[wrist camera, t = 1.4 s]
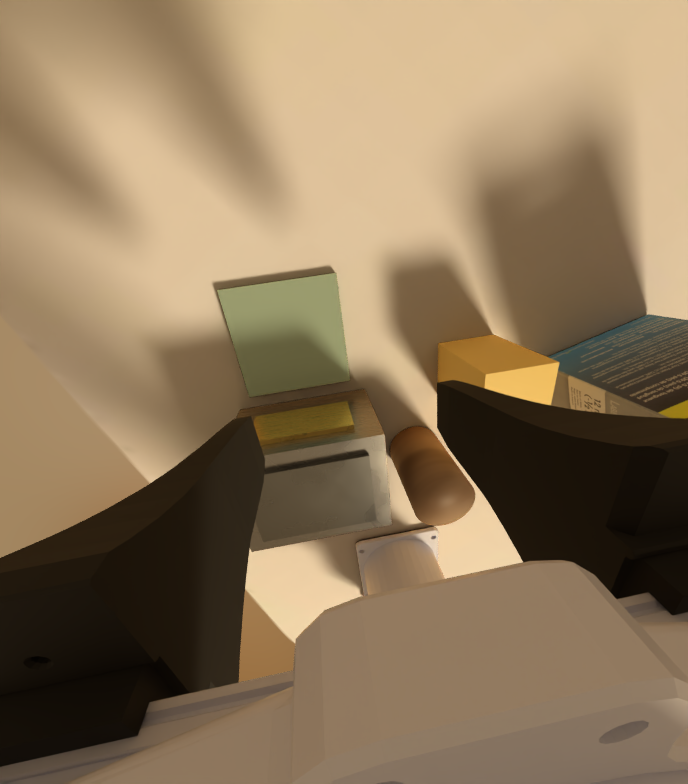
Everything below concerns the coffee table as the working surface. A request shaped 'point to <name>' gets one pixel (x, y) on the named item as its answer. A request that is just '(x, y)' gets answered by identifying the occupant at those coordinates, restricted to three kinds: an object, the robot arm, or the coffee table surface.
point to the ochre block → (498, 367)
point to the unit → (320, 469)
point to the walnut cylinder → (430, 477)
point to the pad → (287, 333)
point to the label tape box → (628, 370)
